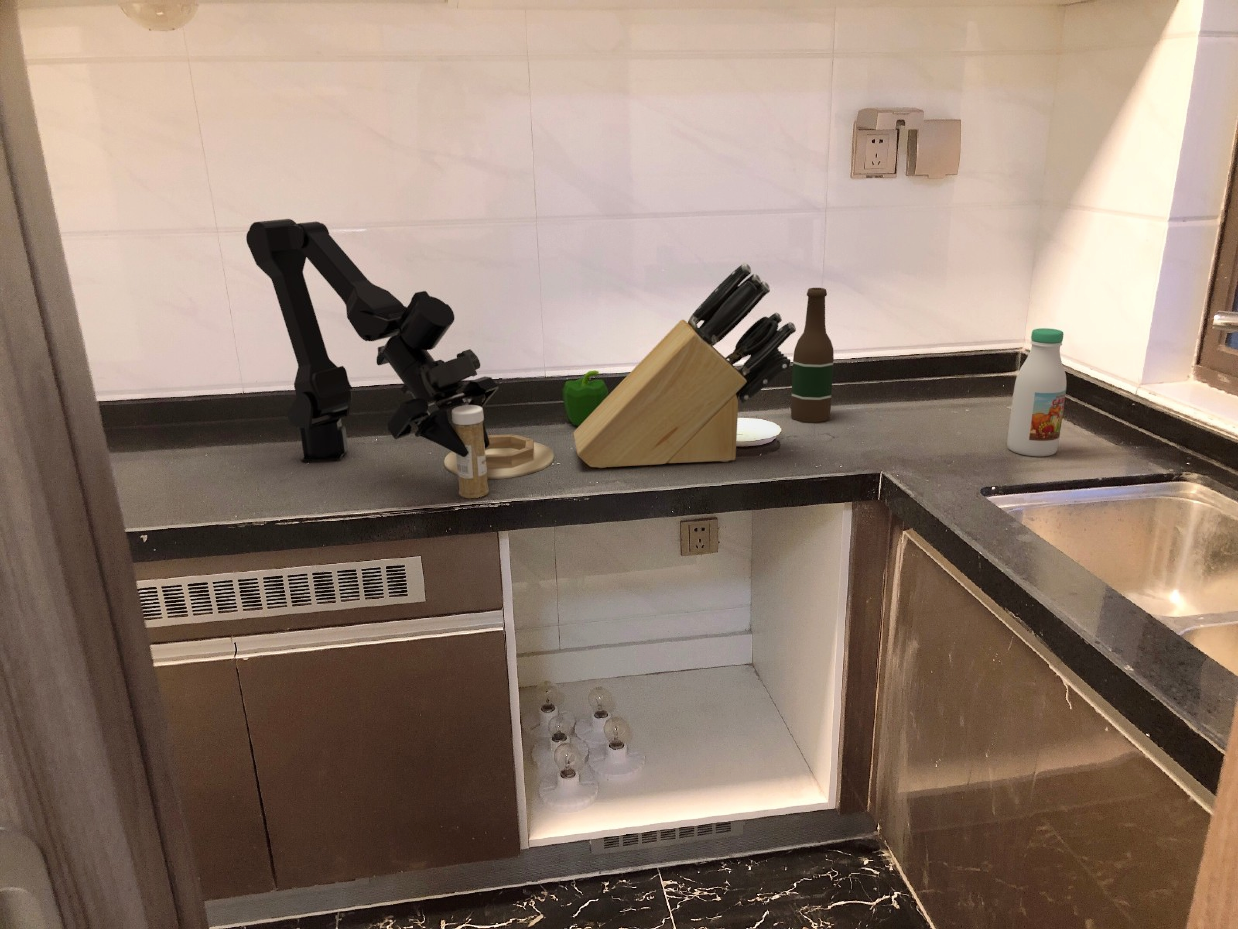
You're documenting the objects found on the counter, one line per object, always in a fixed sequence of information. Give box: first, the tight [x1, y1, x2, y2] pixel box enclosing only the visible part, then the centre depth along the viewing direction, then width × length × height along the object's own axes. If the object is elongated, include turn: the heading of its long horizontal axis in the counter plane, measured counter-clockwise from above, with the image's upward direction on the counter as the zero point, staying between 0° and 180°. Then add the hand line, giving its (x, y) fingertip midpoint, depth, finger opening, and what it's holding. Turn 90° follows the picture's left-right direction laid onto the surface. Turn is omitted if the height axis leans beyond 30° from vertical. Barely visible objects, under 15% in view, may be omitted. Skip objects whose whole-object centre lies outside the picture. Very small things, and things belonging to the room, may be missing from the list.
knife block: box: [573, 262, 797, 469], centre depth 148 cm, size 11×35×31 cm, turn 96°
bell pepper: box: [561, 370, 609, 427], centre depth 169 cm, size 8×8×10 cm
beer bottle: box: [790, 287, 835, 424], centre depth 168 cm, size 8×8×24 cm
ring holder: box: [444, 434, 555, 480], centre depth 152 cm, size 18×18×3 cm
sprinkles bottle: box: [451, 405, 490, 499], centre depth 136 cm, size 5×5×13 cm
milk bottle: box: [1006, 327, 1067, 457], centre depth 148 cm, size 8×8×20 cm
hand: (477, 451), depth 135 cm, fingers closed on sprinkles bottle, 4 cm apart
